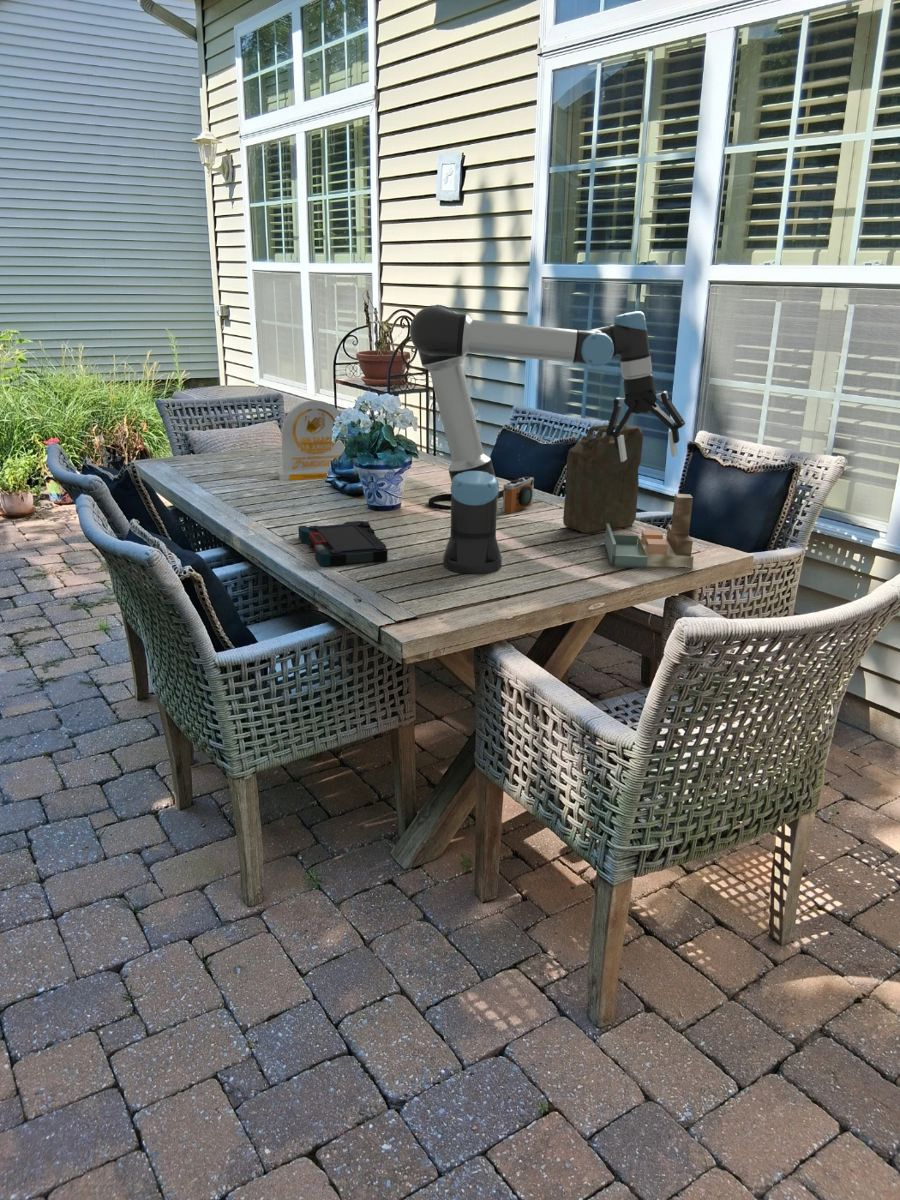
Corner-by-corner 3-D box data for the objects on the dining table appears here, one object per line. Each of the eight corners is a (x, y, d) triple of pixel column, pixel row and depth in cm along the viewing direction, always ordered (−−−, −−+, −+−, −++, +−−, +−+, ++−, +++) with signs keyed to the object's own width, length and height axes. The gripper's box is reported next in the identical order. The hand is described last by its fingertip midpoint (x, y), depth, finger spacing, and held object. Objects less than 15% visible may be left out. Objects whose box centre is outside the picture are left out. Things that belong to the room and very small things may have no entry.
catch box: (611, 566, 231) (613, 544, 229) (604, 544, 251) (606, 523, 249) (646, 567, 230) (648, 545, 228) (636, 545, 250) (638, 524, 248)
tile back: (643, 543, 241) (644, 534, 240) (641, 538, 246) (642, 529, 245) (662, 544, 241) (663, 535, 240) (659, 539, 245) (660, 530, 244)
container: (615, 518, 278) (624, 422, 268) (638, 526, 270) (647, 426, 260) (559, 527, 267) (565, 427, 257) (581, 535, 259) (589, 432, 249)
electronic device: (321, 569, 226) (320, 550, 224) (296, 537, 253) (295, 520, 252) (395, 562, 232) (395, 544, 231) (363, 532, 260) (363, 515, 258)
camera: (502, 521, 273) (503, 490, 270) (420, 507, 288) (420, 477, 285) (545, 503, 298) (546, 473, 294) (467, 491, 312) (468, 462, 309)
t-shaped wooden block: (675, 555, 231) (681, 502, 226) (666, 538, 246) (671, 488, 241) (691, 555, 231) (697, 503, 226) (680, 539, 246) (686, 489, 241)
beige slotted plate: (645, 566, 232) (646, 555, 231) (637, 546, 249) (638, 536, 248) (692, 568, 231) (693, 557, 230) (681, 548, 248) (682, 538, 247)
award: (280, 480, 321) (276, 403, 312) (277, 475, 329) (273, 400, 319) (356, 477, 329) (355, 401, 320) (351, 472, 337) (350, 398, 328)
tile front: (647, 553, 233) (648, 543, 232) (645, 547, 237) (646, 538, 236) (667, 553, 232) (668, 544, 231) (664, 548, 237) (665, 539, 236)
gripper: (690, 366, 220) (700, 449, 227) (596, 379, 233) (608, 458, 240) (682, 371, 214) (692, 457, 221) (586, 385, 228) (598, 465, 234)
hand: (648, 458), depth 231 cm, fingers open, 13 cm apart
